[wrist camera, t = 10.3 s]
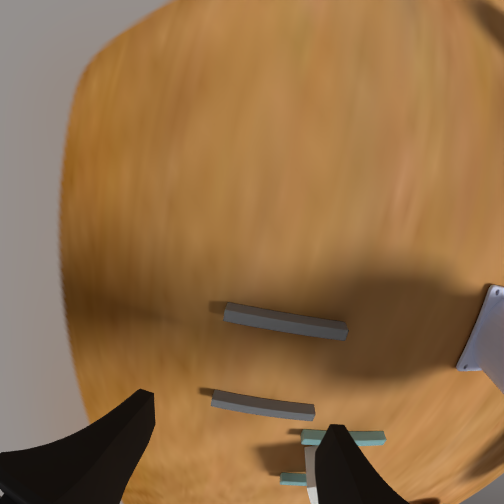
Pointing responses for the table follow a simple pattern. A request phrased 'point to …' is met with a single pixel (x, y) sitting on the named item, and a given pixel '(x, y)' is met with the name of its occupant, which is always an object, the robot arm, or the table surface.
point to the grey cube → (311, 473)
